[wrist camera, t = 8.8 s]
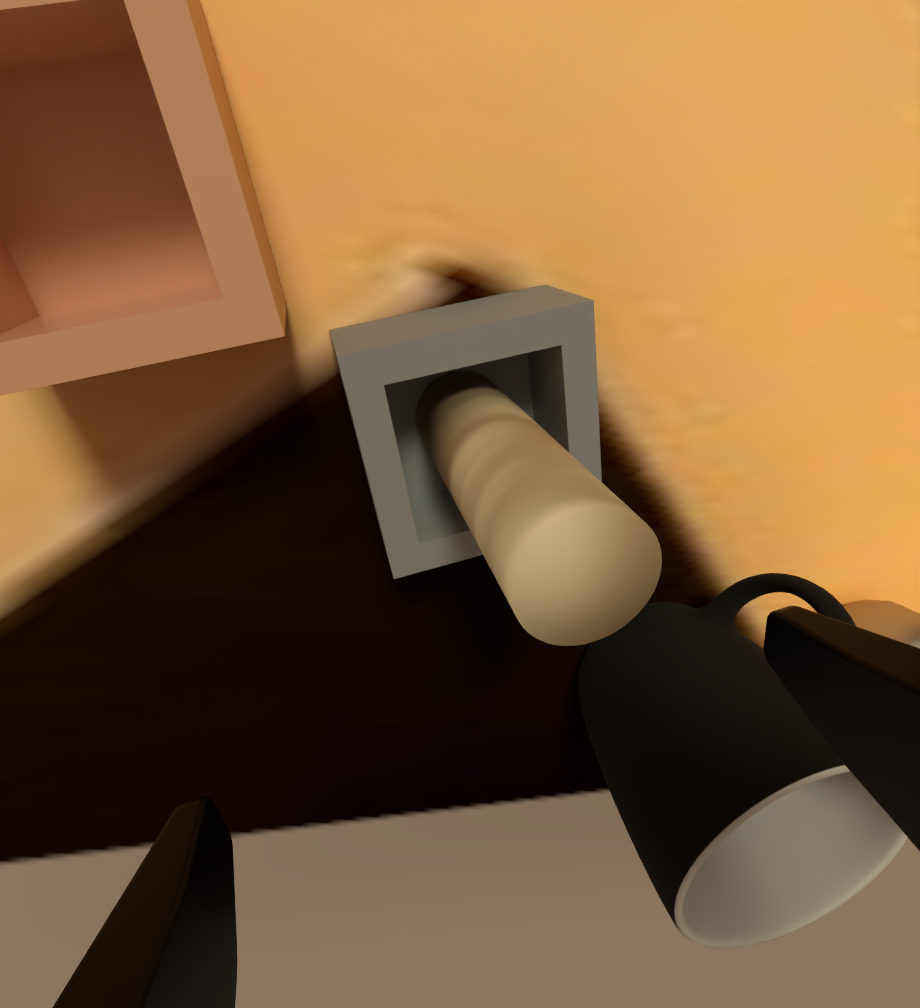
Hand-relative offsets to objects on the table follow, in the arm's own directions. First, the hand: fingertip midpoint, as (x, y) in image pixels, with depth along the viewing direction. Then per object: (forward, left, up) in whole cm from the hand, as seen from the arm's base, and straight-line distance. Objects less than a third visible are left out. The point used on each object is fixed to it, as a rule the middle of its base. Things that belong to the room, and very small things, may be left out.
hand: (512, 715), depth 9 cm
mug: (+10, -12, -13) cm, 20 cm away
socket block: (+2, 0, -13) cm, 13 cm away
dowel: (+2, 0, -12) cm, 12 cm away
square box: (-6, +8, -13) cm, 16 cm away
